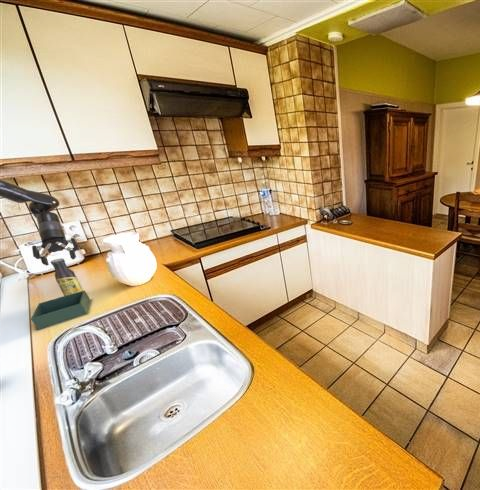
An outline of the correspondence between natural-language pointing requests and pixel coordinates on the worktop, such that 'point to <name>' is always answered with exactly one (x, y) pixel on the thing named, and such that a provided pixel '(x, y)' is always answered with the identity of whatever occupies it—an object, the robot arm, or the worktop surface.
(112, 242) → the pitcher
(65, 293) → the sauce bottle
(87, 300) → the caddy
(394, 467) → the worktop surface
